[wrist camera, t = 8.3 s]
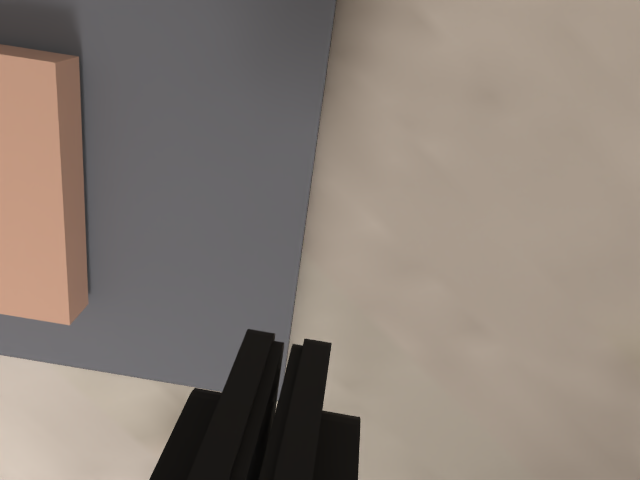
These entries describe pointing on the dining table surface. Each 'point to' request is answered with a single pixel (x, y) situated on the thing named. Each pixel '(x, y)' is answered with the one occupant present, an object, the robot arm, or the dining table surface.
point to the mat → (183, 177)
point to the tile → (41, 187)
